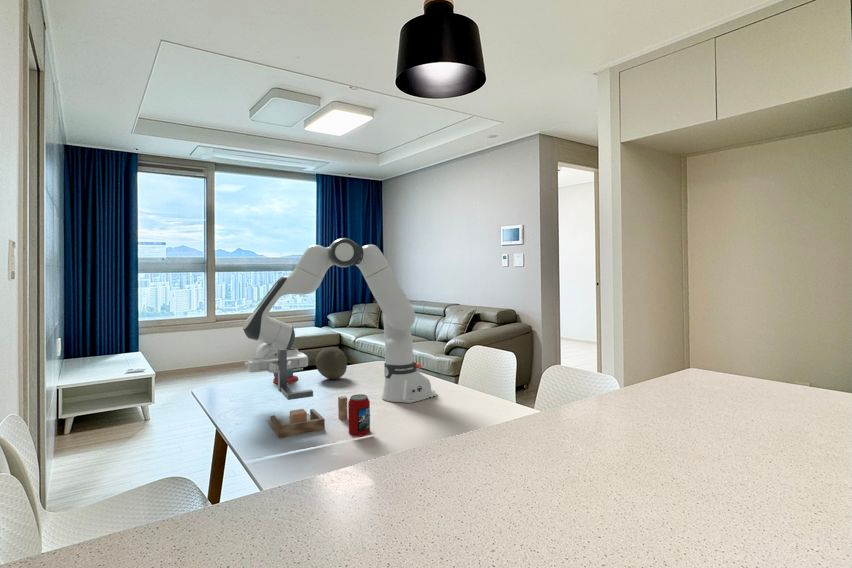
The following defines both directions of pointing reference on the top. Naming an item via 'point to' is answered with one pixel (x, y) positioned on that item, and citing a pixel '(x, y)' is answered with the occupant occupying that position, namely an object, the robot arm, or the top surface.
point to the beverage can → (359, 415)
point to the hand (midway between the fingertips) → (282, 367)
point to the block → (298, 416)
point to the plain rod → (342, 408)
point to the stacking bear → (290, 376)
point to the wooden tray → (297, 425)
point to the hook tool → (283, 379)
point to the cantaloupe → (331, 363)
